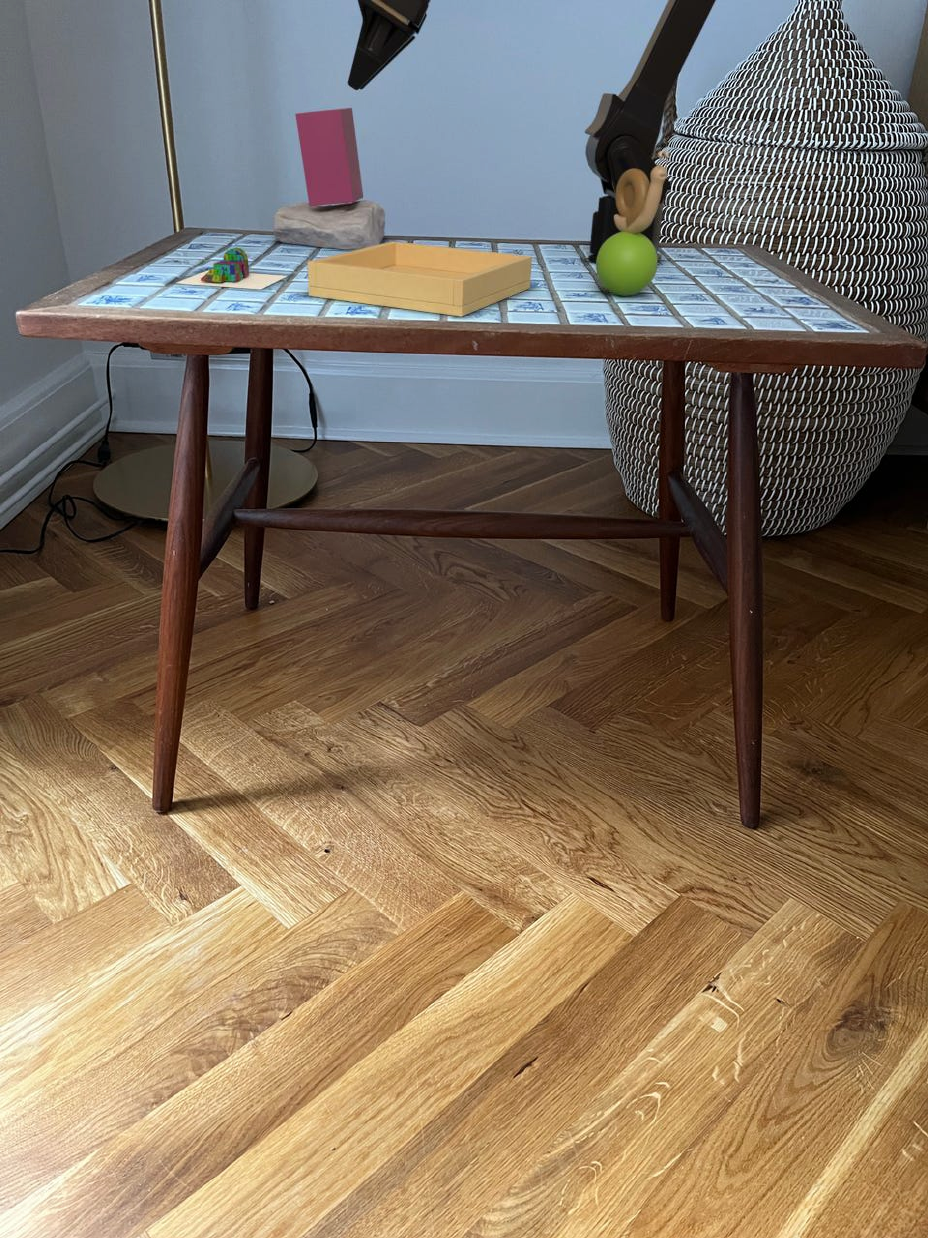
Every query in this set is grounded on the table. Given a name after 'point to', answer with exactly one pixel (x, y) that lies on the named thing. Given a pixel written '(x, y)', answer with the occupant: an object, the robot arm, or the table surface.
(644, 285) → the snail figurine
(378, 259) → the birch tray
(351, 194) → the mulberry block
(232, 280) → the patchwork stepped arch
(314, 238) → the stone block
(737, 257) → the table surface
